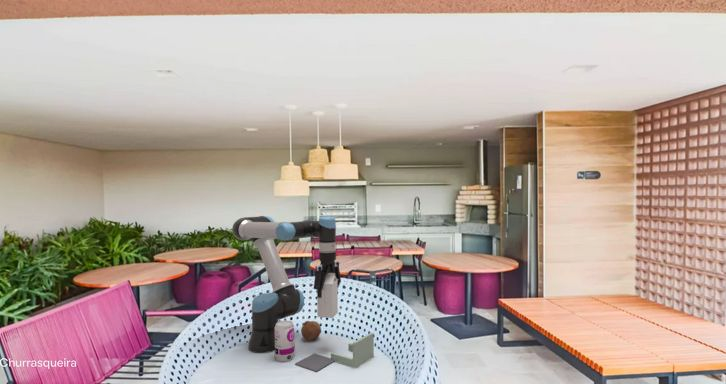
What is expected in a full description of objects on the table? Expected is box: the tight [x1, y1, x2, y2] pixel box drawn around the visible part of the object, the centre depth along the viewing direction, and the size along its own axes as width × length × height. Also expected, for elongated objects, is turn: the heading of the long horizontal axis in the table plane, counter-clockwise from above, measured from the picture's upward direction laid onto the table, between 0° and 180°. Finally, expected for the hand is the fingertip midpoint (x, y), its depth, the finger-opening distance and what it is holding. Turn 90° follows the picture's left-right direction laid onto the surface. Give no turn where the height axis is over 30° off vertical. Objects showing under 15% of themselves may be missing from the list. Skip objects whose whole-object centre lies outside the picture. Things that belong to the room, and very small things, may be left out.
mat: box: [294, 353, 336, 373], centre depth 158 cm, size 12×12×1 cm
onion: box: [301, 320, 322, 341], centre depth 184 cm, size 10×9×10 cm
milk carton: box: [316, 273, 339, 319], centre depth 170 cm, size 7×7×19 cm
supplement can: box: [274, 320, 295, 363], centre depth 163 cm, size 8×8×15 cm
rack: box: [330, 332, 375, 369], centre depth 162 cm, size 13×13×10 cm
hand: (327, 302), depth 170 cm, fingers closed on milk carton, 9 cm apart
